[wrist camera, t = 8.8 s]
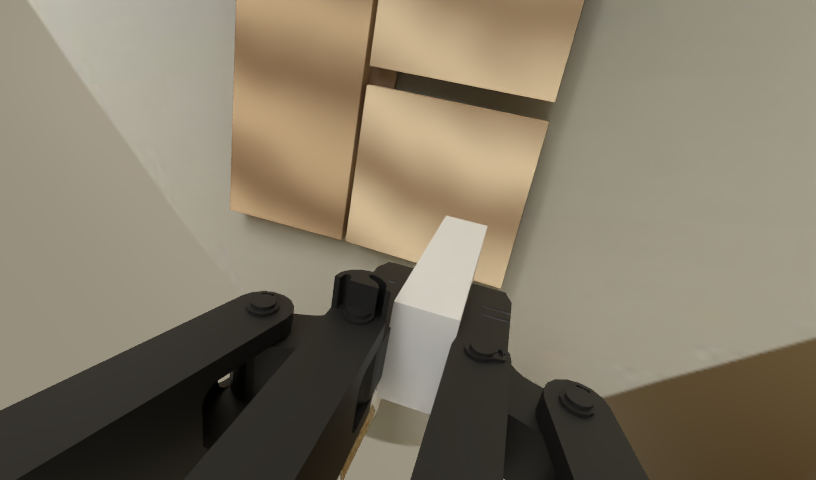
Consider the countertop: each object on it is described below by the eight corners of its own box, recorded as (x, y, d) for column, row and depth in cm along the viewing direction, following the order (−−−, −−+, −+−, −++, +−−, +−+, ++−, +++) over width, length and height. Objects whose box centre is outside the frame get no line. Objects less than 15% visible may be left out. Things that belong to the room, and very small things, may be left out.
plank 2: (374, 84, 25) (367, 84, 24) (549, 121, 23) (548, 122, 22) (352, 236, 29) (345, 241, 28) (502, 281, 26) (500, 288, 25)
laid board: (259, -151, 23) (241, -167, 22) (430, -132, 22) (423, -148, 20) (244, 203, 31) (229, 209, 29) (371, 238, 29) (363, 246, 28)
